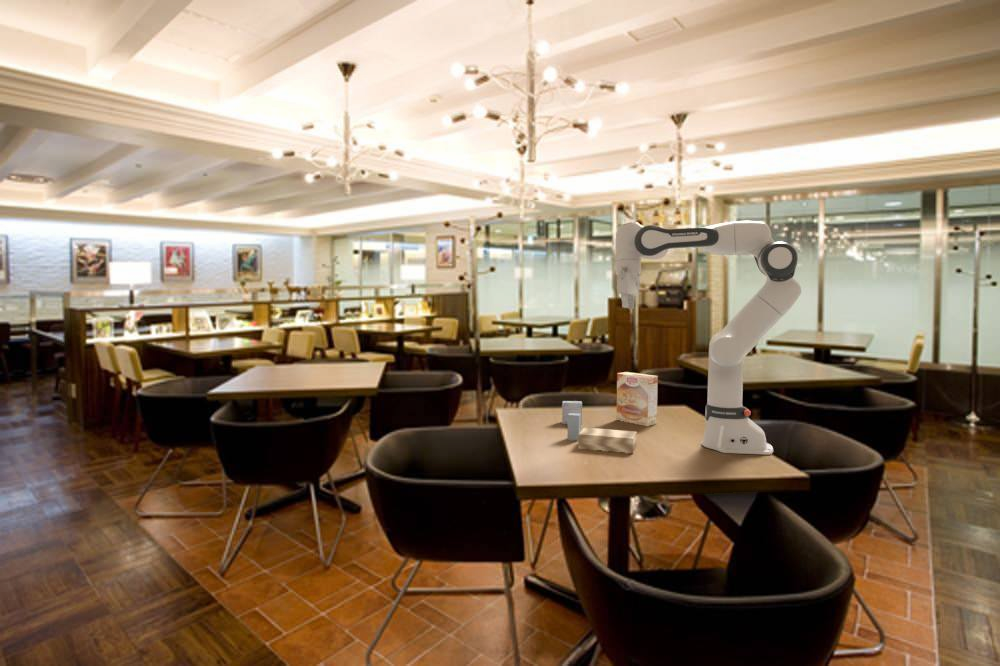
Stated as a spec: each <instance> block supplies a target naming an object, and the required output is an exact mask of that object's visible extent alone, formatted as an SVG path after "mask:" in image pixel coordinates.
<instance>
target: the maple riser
mask: <svg viewBox="0 0 1000 666" xmlns="http://www.w3.org/2000/svg"><path fill="white" fill-rule="evenodd" d="M637 435H638V434H637V431H633V430H619V429H611V428H610V429H608V428H596V427H595V428H594V427H583V428H582V429H581V432H580V433H579V436H578V443H577V444H578V445H577V446H578V447H577V448H578V450H579V449H580V450H587V449H589V451H597V450H602V451H601V452H608V451H615V452H614V453H619V452H625V453H624V454H629V453H633V452H634V453H635V451H634V450H636V449H637V438H638V437H637ZM634 453H633V454H634Z"/></svg>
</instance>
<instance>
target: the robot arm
mask: <svg viewBox="0 0 1000 666" xmlns="http://www.w3.org/2000/svg"><path fill="white" fill-rule="evenodd" d="M689 248H691V249H692V248H694V249H700V250H703V251H706V252H708V253H710V254H713V255H718V256H736V255H737V256H739V255H752V256H753V258H754V261H755V262H756V263H755V264H756V266H757V268H758V270H759V271H760V272H761V273H762V274H763V275H764V276H765V277H766V281H765V283H764V284H763V286H762V287H761V288H760V289H759V290H758V291H757V292H756V293H755V294H754V295H753V296H752V297H751V298H750V299H749V300H748V302H747V303H745V304H744V306H743V307H741V309H740V310H739V311H738V312H736V314H735V315H734V316H733V317H732V318H731V320H730V321H729V322H728V323H727V324H726V325H725V326H724V327H723V328H722V330H721V331H719V332H716V333H715V334H714V335H713V336H712V337H711V339H710V341H709V343H708V344H709V345H708V366H707V367H708V373H707V374H708V375H707V403H706V405H705V413H704V414H705V415H704V416H705V417H704V418H705V420H706V421H705V427H704V432H703V433H704V434H703V436H702V440H701V442H700V444H701V445H702V446H704V447H705V448H707V449H711V450H715V451H718V452H720V453H723V454H740V455H741V454H742V455H743V454H744V455H747V454H748V455H766V456H767V455H768V456H769V455H771V454H773V453H774V448H773V446H772V445H771V443H768V442H767V438H766V433H765V431H764V430H763V429H762V428H761V426H759V425H758V424H756V423H755V422H754V421H753V420H752V419H751V418H750V416H751V412H752V411H751V410H750V409H749V408H747V407H746V406H744V405H743V391H744V389H743V388H744V384H743V383H744V381H743V380H744V377H743V376H744V375H743V374H744V373H743V372H744V365H743V364H744V359H745V358H746V356H747V355H748V354H749V353H750V352H751V351H752V350H753V348H755V346H756V345H757V344H758V343H759V342H760V341H761V339H762V338H763V337H764V336H765V335H767V333H768V332H769V331H771V329H772V328H773V327H774V326H775V325H776V324H777V323H778V322H779V321H780V320H781V319H782V318H783V317H784V316H785V314H787V313H788V312H789V310H791V309H792V307H793V306H794V305H795V303H796V302H797V300H798V298H799V297H800V296H801V294H802V288H801V285H800V283H799V282H798V281H797V280H796V278H794V276H795V273H796V268H797V265H798V261H799V260H798V256H799V255H798V253H797V250H796V249H795V247H794V246H793V245H792V244H790V243H788V242H785V241H774V239H773V237H772V231H771V227H770V226H769V225H768V223H765V222H764V221H758V220H757V221H755V220H737V221H727V222H721V223H720V222H719V223H716V224H711V225H706V226H700V227H693V228H692V227H690V228H689V227H687V228H674V229H673V228H670V229H668V228H663V227H660V226H657V225H654V224H649V225H645V226H644V225H641V224H640V223H639V222H636V221H635V222H632V221H631V222H627V223H624V224H621V225H620V226H618V228H617V230H616V236H615V252H616V257H615V271H614V272H615V275H617V278H616V292H617V293H618V294H619V295H620V299H621V307H622V308H624V309H628V310H633V309H634V305H635V300H636V298H638V297H639V294H640V285H641V284H640V283H641V278H640V277H642V274H643V273H642V259H649V260H659V259H661V258H663V257H665V255H666V254H667V253H668V252H669V251H668V250H672V249H689Z"/></svg>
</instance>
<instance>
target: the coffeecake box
mask: <svg viewBox="0 0 1000 666" xmlns="http://www.w3.org/2000/svg"><path fill="white" fill-rule="evenodd" d="M616 375H617V377H616V415H615V416H616V419H617V420H616V421H618V420H620V421H619V422H623V421H624V423H628V422H629V424H633V423H634V425H638V424H639V426H643V425H644V427H651V426H654V425H657V424H658V417H657V416H658V384H659V383H658V380H659V376H658V375H654V374H653V375H652V374H645V373H640V372H639V373H637V372H629V371H624V372H617V373H616ZM650 425H651V426H650Z"/></svg>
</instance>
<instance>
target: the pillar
mask: <svg viewBox="0 0 1000 666" xmlns="http://www.w3.org/2000/svg"><path fill="white" fill-rule="evenodd" d="M581 426H582V424H581V414H578V413H569V414H568V424H567V440H568V441H575V440H578V436H579V433H580V432H581V431H582V429H581V428H582V427H581Z"/></svg>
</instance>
